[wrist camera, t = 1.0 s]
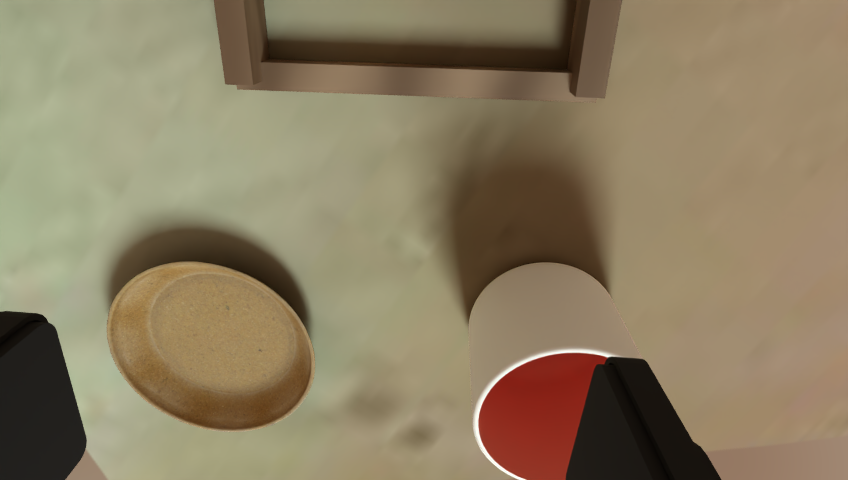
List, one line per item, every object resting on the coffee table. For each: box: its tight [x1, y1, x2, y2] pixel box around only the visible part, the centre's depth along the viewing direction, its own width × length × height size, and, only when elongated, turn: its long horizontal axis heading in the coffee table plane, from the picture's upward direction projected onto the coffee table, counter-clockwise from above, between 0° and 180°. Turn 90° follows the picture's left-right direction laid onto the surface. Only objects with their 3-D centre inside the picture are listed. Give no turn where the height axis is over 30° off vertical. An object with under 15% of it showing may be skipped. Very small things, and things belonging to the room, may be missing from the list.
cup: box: [468, 262, 643, 480], centre depth 32 cm, size 10×10×10 cm
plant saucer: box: [107, 261, 315, 432], centre depth 37 cm, size 15×15×3 cm
